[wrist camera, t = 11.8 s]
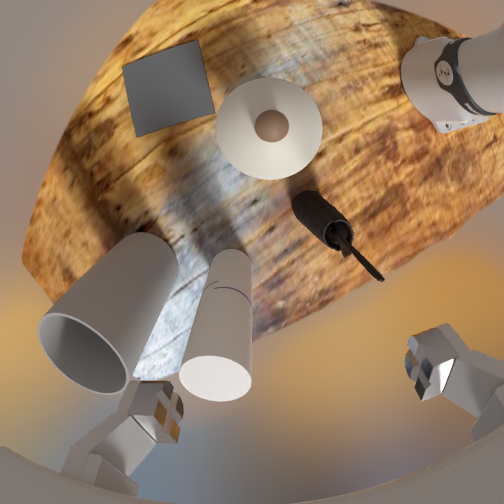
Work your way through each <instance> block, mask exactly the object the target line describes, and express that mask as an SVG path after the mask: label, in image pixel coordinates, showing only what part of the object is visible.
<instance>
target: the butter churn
mask: <svg viewBox="0 0 504 504" xmlns="http://www.w3.org/2000/svg"><path fill="white" fill-rule="evenodd" d="M292 209H293V212H294V214H295V216H296V218H297V219H298V220H299V221H300V222H301V223H302V224H303V225H304V226H306V227H307V228H308V229H309V230H310V231H311V232H312V233H313V234H314V235H315V236H316V237H317V238H318V239H319V240H321V241H322V242H323V243H324V244H325V245H327V246H328V247H329V248H331V249H335V250H336V251H340V250H341V251H342V254H343V256H344V258H346V257H348V256H349V255H351V254H353V255H354V256H355V257H356V258H357V260H358V261H359V262H360V263H361V264H362V265H363V266H364V267H365V269H366V270H367V271H368V272H369V273H370V274H371V275H372V276H373V277H374V278H376V279H377V281H381V282H383V281H384V280H385V279H384V278H383V277H382V275H381V274H380V272H378V271H377V270H376V269H375V268H374V267H373V265H371V264H370V263H369V262H368V261H367V260H366V259H365V257H363V256H362V255H361V254H360V252H359V251H357V250H356V249H355V248H354V247H353V246H352V241H353V236H354V232H353V230H352V226H351V225H350V223H349V221H347V219H346V218H345V217H344V216H343V215H342V214H341V213H340V212H339V211H338V210H337V209H336V208H335V207H334V206H332V205H331V204H329V203H328V202H327V201H326V200H325V199H324V198H323V197H321V196H320V195H319V194H318V193H316V192H314V191H304V192H302V193H300V194H299V195H298V196H297V197H296V198H295V200H294V202H293V206H292ZM351 252H352V253H351Z"/></svg>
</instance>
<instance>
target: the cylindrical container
mask: <svg viewBox="0 0 504 504" xmlns="http://www.w3.org/2000/svg"><path fill="white" fill-rule="evenodd" d="M252 282H253V266H252V262H251V260H250V258H249V257H248V256H247V255H246V254H245V253H243V252H242V251H239V250H236V249H226V250H223V251H221V252H219V253H218V254H217V255H216V256H215V257H214V259H213V261H212V264H211V267H210V270H209V273H208V276H207V280H206V283H205V286H204V289H203V292H202V296H201V299H200V302H199V305H198V309H197V312H196V315H195V319H194V322H193V325H192V329H191V332H190V336H189V339H188V343H187V346H186V350H185V353H184V357H183V360H182V364H181V367H180V371H179V378H180V381H181V383H182V384H183V386H184V387H185V388H186V389H187V390H188V391H189V392H191V393H192V394H194V395H196V396H198V397H201V398H203V399H207V400H211V401H229V400H234V399H237V398H239V397H241V396H243V395H244V394H245V393H247V391H248V390H249V389H250V386H251V365H252Z"/></svg>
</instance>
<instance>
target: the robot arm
mask: <svg viewBox="0 0 504 504" xmlns="http://www.w3.org/2000/svg"><path fill="white" fill-rule="evenodd" d="M401 78H402V83H403V86H404V89H405V92H406V94H407V96H408V98H409V99H410V101H411V102H412V104H413V105H414V106H415V108H416V109H417V110H418V111H419V112H420V113H422V114H423V115H424V116H425V117H427V118H428V119H429V120H430V121H431V122H432V124H433V125H434V127H435V128H436V130H437V131H438V132H439V133H448V132H451V131H454V130H458V129H461V128H465V127H468V126H471V125H475V124H479V123H482V122H485V121H487V119H488V116H491V115H496V114H498V113H504V22H503V24H502V25H501V26H500V27H499V28H497V29H495V30H494V31H491V32H489V33H487V34H484V35H481V36H478V37H476V38H459V39H455V40H454V39H450V38H448V37H447V36H442V37H438V38H435V39H430V38H427V37H424V36H419V37H417V38H416V41H415V44H414V47H413V48H412V49H411V50H409V51H408V52H407V53H406V54H405V56H404V58H403V60H402V64H401ZM446 125H447V127H446ZM408 346H409V348H410V349H409V351H408V352H407V353H406V356H405V368H406V371H407V374H408V376H409V378H410V379H411V380H413V381H415V382H416V384H415V390H416V392H417V394H418V396H419V397H420V400H421V401H425V400H427V399H430V398H432V397H435V396H437V395H440V394H442V395H443V396H445V397H446V398H448V399H449V400H451V401H452V402H454V403H455V404H457V405H458V406H460V407H462V408H463V409H465V410H466V411H468V412H469V413H471V414H473V415H474V416H476V417H477V418H478V419H477V421H476V422H475V423H474V425H473V426H472V428H471V430H470V433H471V436H472V438H473V440H474V443H472V444H471V445H469V446H467V447H466V448H464V449H462V450H460V451H458V452H456V453H455V454H453V455H451V456H449V457H447V458H445V459H443V460H441V461H439V462H436V463H434V464H432V465H430V466H428V467H425V468H423V469H421V470H418V471H416V472H414V473H411V474H409V475H406V476H403V477H401V478H398V479H395V480H392V481H390V482H387V483H384V484H380V485H377V486H374V487H371V488H367V489H364V490H360V491H357V492H353V493H348V494H344V495H340V496H335V497H331V498H325V499H320V500H314V501H308V502H301V503H294V504H504V361H501V360H499V359H496V358H494V357H491V356H489V355H486V354H483V353H481V352H479V351H476V350H473V351H471V350H470V349H469V348H468V347H467V345H466V344H465V343H464V341H463V340H462V339H461V338H460V336H459V335H458V334H457V333H456V332H455V330H454V329H453V328H452V327H451V326H450V325H449V324H448V323H445V324H442V325H440V326H437V327H435V328H431V329H429V330H426V331H423V332H421V333H418V334H415V335H412V336H410V338H409V340H408ZM173 388H174V387H173V385H172V384H171V382H170V381H130V382H129V383H128V384H127V387H126V389H125V391H124V394H123V396H122V399H121V401H120V404H119V406H118V408H117V411H116V413H115V414H111V415H110V416H109V417H108V418H106V419H105V420H104V421H103V422H101V423H100V424H99V425H98V426H97V427H95V428H94V429H93V430H91V431H90V432H89V433H88V434H86V435H85V436H84V437H83V438H82V439H80V440H79V441H78V442H76V443H75V444H74V445H73V446H71V448H70V450H69V453H68V455H67V458H66V460H65V462H64V465H63V467H62V470H61V473H58V472H56V471H53V470H51V469H49V468H46V467H44V466H42V465H40V464H38V463H36V462H34V461H32V460H30V459H28V458H26V457H24V456H22V455H20V454H18V453H16V452H15V451H13V450H11V449H9V448H7V447H0V504H176V503H169V502H162V501H155V500H150V499H145V498H140V497H137V494H138V490H139V485H138V484H137V483H136V482H135V481H133V480H132V479H131V478H129V477H128V476H129V475H130V474H131V473H132V472H133V471H134V469H135V468H136V467H137V466H138V465H139V464H140V463H141V462H142V460H143V459H144V458H145V457H146V456H147V455H148V453H149V452H150V451H151V450H152V449H153V447H154V446H155V445H156V443H178V438H179V433H180V427H179V425H178V422H180V421H181V420H182V419H183V414H184V409H183V403H182V400H181V398H180V396H179V395H178V394H176V393H175V392H173Z"/></svg>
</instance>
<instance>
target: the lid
mask: <svg viewBox="0 0 504 504" xmlns="http://www.w3.org/2000/svg"><path fill="white" fill-rule="evenodd" d="M215 129H216V138H217V142H218V145H219V147H220V150H221V152H222V153H223V155H224V156H225V158H226V159H227V160H228V161H229V163H230V164H232V165H233V166H234V167H235V168H236V169H238V170H239V171H240V172H242V173H244V174H246V175H249V176H251V177H254V178H258V179H265V180H274V179H281V178H285V177H288V176H291V175H293V174H295V173H297V172H299V171H300V170H302V169H303V168H304V167H305V166H307V165H308V164H309V163H310V161H311V160H312V159H313V158H314V156H315V154H316V153H317V151H318V149H319V146H320V143H321V139H322V120H321V116H320V113H319V110H318V108H317V106H316V104H315V103H314V101H313V100H312V99H311V97H310V96H309V95H308V94H307V93H306V92H305V91H304V90H302V89H301V88H300V87H298V86H297V85H295V84H293V83H291V82H288V81H286V80H282V79H278V78H258V79H254V80H251V81H248V82H245V83H243V84H242V85H240V86H238V87H237V88H235V89H234V90H233V91H232V92H231V93H230V94H229V95H228V96H227V97H226V98H225V100H224V101H223V103H222V104H221V106H220V109H219V111H218V114H217V118H216V125H215Z"/></svg>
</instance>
